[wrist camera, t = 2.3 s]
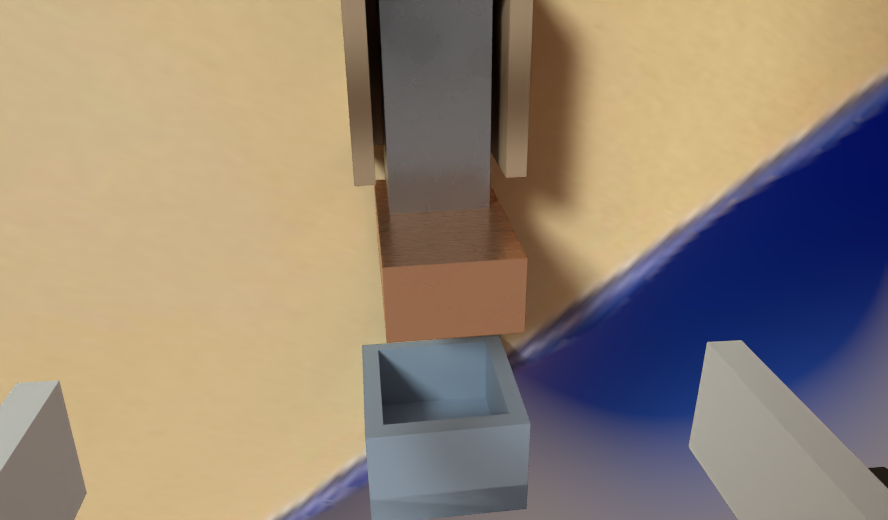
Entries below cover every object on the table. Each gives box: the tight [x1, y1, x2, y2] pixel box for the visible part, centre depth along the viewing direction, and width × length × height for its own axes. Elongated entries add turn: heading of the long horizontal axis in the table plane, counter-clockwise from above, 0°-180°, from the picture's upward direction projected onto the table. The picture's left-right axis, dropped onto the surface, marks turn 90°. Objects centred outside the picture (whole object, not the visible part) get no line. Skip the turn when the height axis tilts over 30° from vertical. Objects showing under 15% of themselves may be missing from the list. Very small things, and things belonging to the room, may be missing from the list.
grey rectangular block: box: [362, 335, 531, 520], centre depth 36 cm, size 5×7×7 cm
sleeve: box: [341, 0, 533, 186], centre depth 28 cm, size 8×7×6 cm
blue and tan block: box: [374, 0, 528, 343], centre depth 28 cm, size 14×5×9 cm, turn 1°
